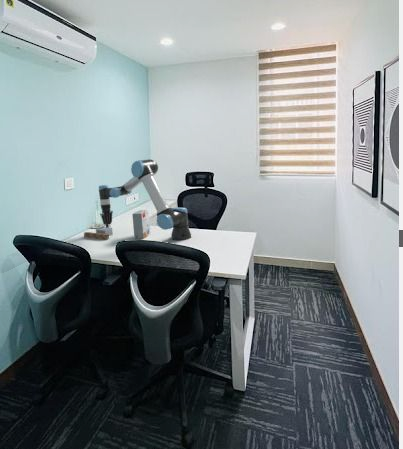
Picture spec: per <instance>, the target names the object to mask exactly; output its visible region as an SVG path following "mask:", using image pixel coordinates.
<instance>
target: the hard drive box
mask: <svg viewBox="0 0 403 449" xmlns="http://www.w3.org/2000/svg"><path fill="white" fill-rule="evenodd" d="M149 214H150V213H149V209H139V210H137V211H135V212H133V213H132V226H133V237H134V240H138V239H139V240H142V239H143V240H144V239H145V238H147V237H148V236H149V235H150V234H151V227H150V215H149ZM146 236H147V237H146Z"/></svg>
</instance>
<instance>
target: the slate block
mask: <svg viewBox="0 0 403 449" xmlns="http://www.w3.org/2000/svg"><path fill="white" fill-rule="evenodd" d="M113 232H114V231H113V228H112V227H110V228H107V227H106V226H105V227H104V226H102V227H99V228H97V229H96V228H95V233H102V234H109V237H111V236H113V234H114V233H113Z"/></svg>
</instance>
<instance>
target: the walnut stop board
mask: <svg viewBox="0 0 403 449" xmlns="http://www.w3.org/2000/svg"><path fill="white" fill-rule="evenodd" d="M83 236H84V238H85V239H94V240H95V239H96V240H105V241H107V240H110V236H109V234H102V233H96V232H89V231H85V232H83Z"/></svg>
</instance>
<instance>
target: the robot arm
mask: <svg viewBox="0 0 403 449" xmlns="http://www.w3.org/2000/svg"><path fill="white" fill-rule="evenodd" d="M158 170H159V165H158V163H157V162H156V160H153V159H142V160H136V161H133V163H132V164H131V168H130V172H131V174H132V176H133V177H131V178H130V179H129V180H128V181H126V182H125V183H124V184H122V185H121V186H120V185H119V186H116V187H109V185H108V184H100V185H98V194H99V201H100V202H99V203H100V208H101V213H99V215H100V217H101V220H102V224H103V225H105V227H107V228H112V226H111V225H112V223H113V212H114V211H113V210H111V199H110V198H114V199H116V198H119V197H121V196H122V197H123V196H128V195H130V194H132V191H133V190H134V189H135V188H137V187H138V186H139V185H141V184H143V186H144V189H145V190H146V193H147V194H148V196H149V198H150V200H151V202H152V204H153V206H154V208H155V210H156V216H157V217H156V224H157V226H158V227H159V228H161V229H162V230H171V229H172V231H171V235H170V236H171V237H170V238H171V239H172V240H175V241H184V240H189V239H191V237H192V233H191V229H190V228H189V218H188V217H189V216H188V209H187V208H186V207H172V206H168V203H167V201H166V200H165V196H163V194H162V192H161V190H160V187H159V185H158V184H157V181H156V180H155V178H154V176H155V175H156V174H157V172H158Z"/></svg>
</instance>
